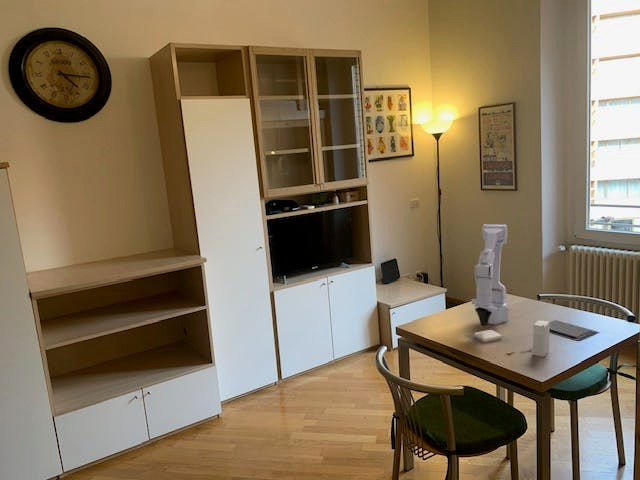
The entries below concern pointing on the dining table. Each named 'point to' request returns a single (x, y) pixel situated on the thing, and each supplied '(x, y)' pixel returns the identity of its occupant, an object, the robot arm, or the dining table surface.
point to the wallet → (570, 331)
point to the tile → (487, 336)
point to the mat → (487, 342)
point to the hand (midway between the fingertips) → (484, 325)
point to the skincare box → (541, 338)
